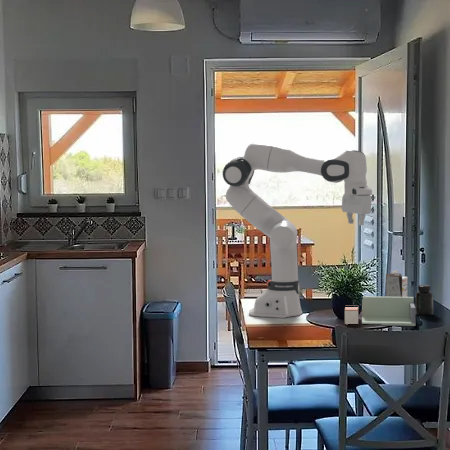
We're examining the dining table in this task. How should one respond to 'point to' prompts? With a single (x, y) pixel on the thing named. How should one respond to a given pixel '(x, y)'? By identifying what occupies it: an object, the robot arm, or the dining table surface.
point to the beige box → (351, 315)
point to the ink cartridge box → (403, 284)
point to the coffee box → (394, 285)
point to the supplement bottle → (424, 301)
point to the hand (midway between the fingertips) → (355, 224)
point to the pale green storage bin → (388, 311)
